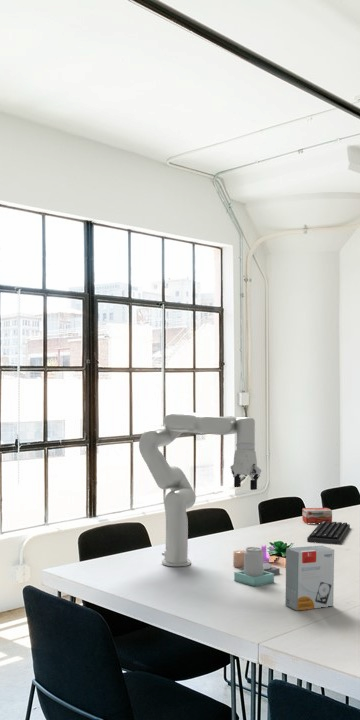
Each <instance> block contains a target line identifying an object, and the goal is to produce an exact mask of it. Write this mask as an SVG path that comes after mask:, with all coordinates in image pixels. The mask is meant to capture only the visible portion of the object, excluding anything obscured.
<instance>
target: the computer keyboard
mask: <svg viewBox="0 0 360 720" xmlns="http://www.w3.org/2000/svg"><path fill="white" fill-rule="evenodd" d="M350 528H351V527H350V523H349V524H348V523H347V522H342V521H340V522H338V521H332V523H331V521H330V522H327V523H326V521H322V522H321V523H320V524H317V526H316V527H315V528H314V529H313V530H312V532H311V533H309V535H308V536H307V543H315V542H316V543H317V544H330V545H340V544H341V543H342V542H343V540H344V538H345V537H346V535H347V533H348V532H349V530H350Z"/></svg>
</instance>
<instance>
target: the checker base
mask: <svg viewBox="0 0 360 720" xmlns="http://www.w3.org/2000/svg"><path fill="white" fill-rule="evenodd" d="M243 570H244V567H242V568H241V571H243ZM263 571H266V572H270V573H273V574H274V576H275V575H278V574H280V567H276V566H272V568H271V569H270V570H263Z"/></svg>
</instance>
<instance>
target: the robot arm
mask: <svg viewBox="0 0 360 720" xmlns="http://www.w3.org/2000/svg"><path fill="white" fill-rule="evenodd" d="M255 427H256V421H255V419H254V417H251V416H250V417H249V416H247V417H246V416H245V417H242V416H241V417H239V416H238V417H237V416H232V415H231V416H229V415H228V416H215V415H214V416H210V415H203V414H202V413H199V412H198V413H197V412H185V411H178V410H177V411H170V412H167V414H165V415H164V417H163V425H162V426H161V427H153V428H148V429H147V430H145V431H144V432H143V433H142V434H141V436H140V438H139V442H138V449H139V452H140V455H141V457H142V460H144V462H145V464H146V466H147V468H148V470H149V472H150V473H151V476H152V477H153V479H154V481H155V483H156V485H157V486H158V488H159V489H161V490H170V491H169V492H168V493H167V494H166V495H165V498H164V501H163V505H164V512H165V550H164V551H163V552H161V556H163V557H164V558H163V559H162V560H161V564H162V565H163V566H168V567H187V566H191V564H192V559H189V558H188V553H189V552H188V551H189V549H188V547H189V546H188V544H189V543H188V540H189V536H188V535H189V530H188V529H189V525H188V524H189V522H188V521H189V520H188V515H187V514H188V513H187V510H189V509H190V508H192V507H194V505H195V504H196V501H197V500H196V499H197V498H196V497H197V496H196V492H195V491H194V489H193V487H192V484H190V482H189V479H188V478H187V476H186V475H185V473H184V472H183V470H182V469H181V468H180V467H178V466H173V465H169V463H168V461H167V459H166V457H165V456H164V454H163V453H162V452H161V451H160V449H159V448H160V447H161V448H163V447H165V446H166V447H167V446H168V445H170V444H172V442H174V441H175V440H176V439H177V438H178V437H179V436H180V435H182V433H193V434H203V435H204V434H207V435H217V436H218V435H219V436H226V435H233V434H236V445H235V446H236V449H235V451H234V456H233V464H231V465H230V471H231V475H232V477H233V479H234V480H233V486H234V488H240V487H241V482H242V481H241V479H242V477H241V475H243V476H249V477H250V482H249V483H250V487H249V489H250V491H255V490H258V480H259V478H260V477H261V473H262V469H261V468H260V467H259V466H258V461H257V453H256V450H255V449H256V448H255V447H256V446H255V445H256V444H255V443H256V441H255V439H256V438H255V437H256V436H255V435H256V429H255Z"/></svg>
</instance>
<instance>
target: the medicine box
mask: <svg viewBox="0 0 360 720" xmlns="http://www.w3.org/2000/svg"><path fill="white" fill-rule="evenodd" d="M301 515H302V517H301V518H302V522H303V521H304V522H306V523H321V522H322V521H326V523H327V522H330V521H331V523H332V522H333V511H332V509H330V508H328V507H306V508H305V507H303V508H302V514H301ZM304 522H303V523H304ZM306 523H305V524H306Z"/></svg>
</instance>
